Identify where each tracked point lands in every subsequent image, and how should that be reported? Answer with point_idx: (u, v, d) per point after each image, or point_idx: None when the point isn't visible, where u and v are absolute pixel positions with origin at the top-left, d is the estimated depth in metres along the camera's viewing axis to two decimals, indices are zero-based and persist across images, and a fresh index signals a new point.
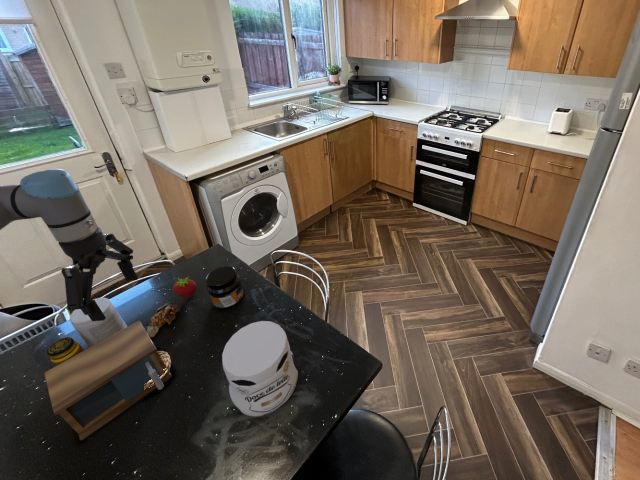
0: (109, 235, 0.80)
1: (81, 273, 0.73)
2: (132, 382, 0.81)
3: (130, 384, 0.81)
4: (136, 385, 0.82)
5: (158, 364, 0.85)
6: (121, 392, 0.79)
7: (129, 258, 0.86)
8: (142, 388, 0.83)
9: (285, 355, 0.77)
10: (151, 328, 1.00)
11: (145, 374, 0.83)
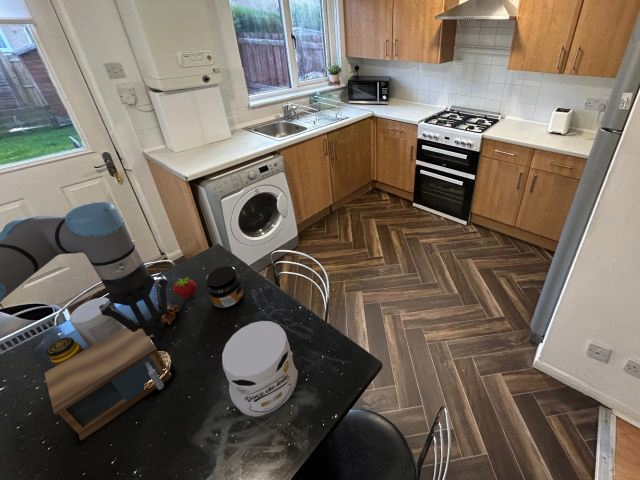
0: (164, 280, 0.74)
1: None
2: (132, 382, 0.81)
3: (130, 384, 0.81)
4: (136, 385, 0.82)
5: (158, 364, 0.85)
6: (121, 392, 0.79)
7: (156, 320, 0.75)
8: (142, 388, 0.83)
9: (285, 355, 0.77)
10: None
11: (145, 374, 0.83)
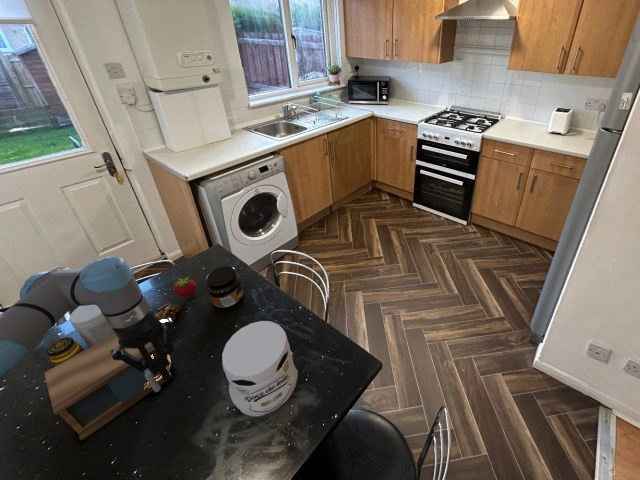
0: (170, 322, 0.78)
1: None
2: (128, 384, 0.80)
3: (126, 387, 0.80)
4: (132, 388, 0.81)
5: None
6: (117, 395, 0.79)
7: (163, 359, 0.79)
8: (138, 390, 0.83)
9: (285, 355, 0.77)
10: None
11: (141, 376, 0.82)
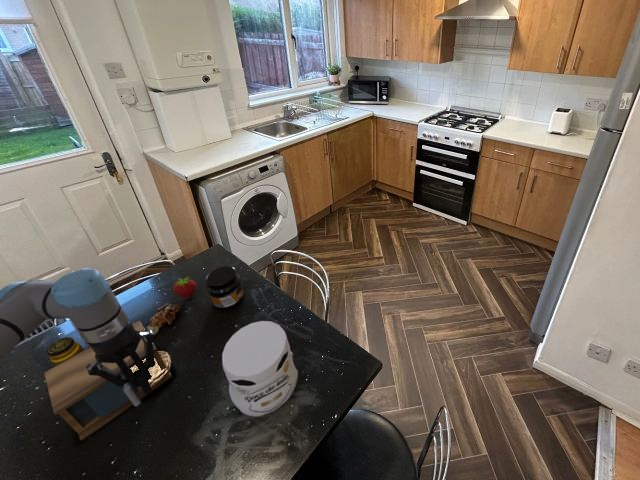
0: (150, 334, 0.75)
1: None
2: (107, 399, 0.77)
3: (105, 401, 0.77)
4: (111, 402, 0.78)
5: None
6: (95, 410, 0.76)
7: (143, 373, 0.77)
8: (118, 404, 0.80)
9: (285, 355, 0.77)
10: (151, 328, 1.00)
11: (121, 390, 0.79)
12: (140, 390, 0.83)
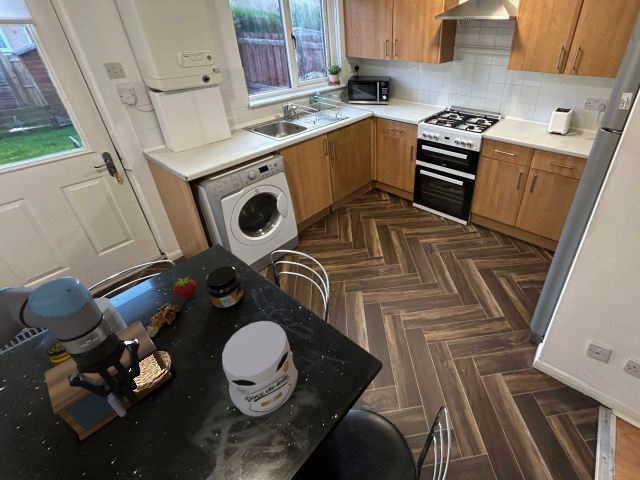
0: (135, 343, 0.73)
1: None
2: (91, 409, 0.75)
3: (89, 412, 0.75)
4: (95, 413, 0.76)
5: None
6: (78, 421, 0.74)
7: (128, 383, 0.74)
8: (103, 414, 0.78)
9: (285, 355, 0.77)
10: (151, 328, 1.00)
11: (106, 400, 0.77)
12: (126, 400, 0.81)
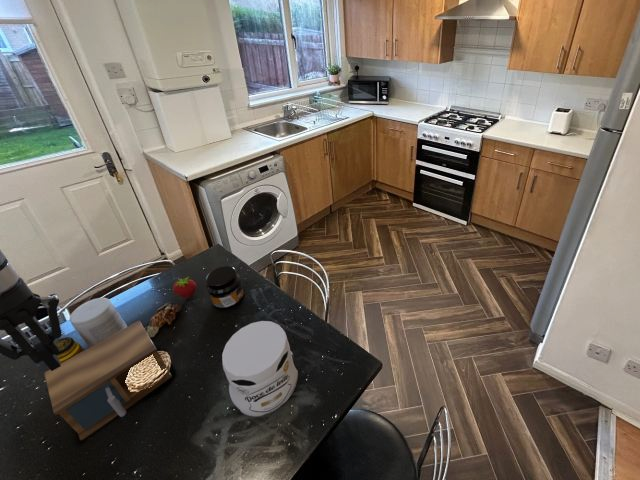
0: (53, 299, 0.64)
1: None
2: (91, 409, 0.75)
3: (89, 412, 0.75)
4: (95, 413, 0.76)
5: (121, 389, 0.79)
6: (78, 421, 0.74)
7: (46, 345, 0.65)
8: (103, 414, 0.78)
9: (285, 355, 0.77)
10: (151, 328, 1.00)
11: (106, 400, 0.77)
12: (126, 400, 0.81)
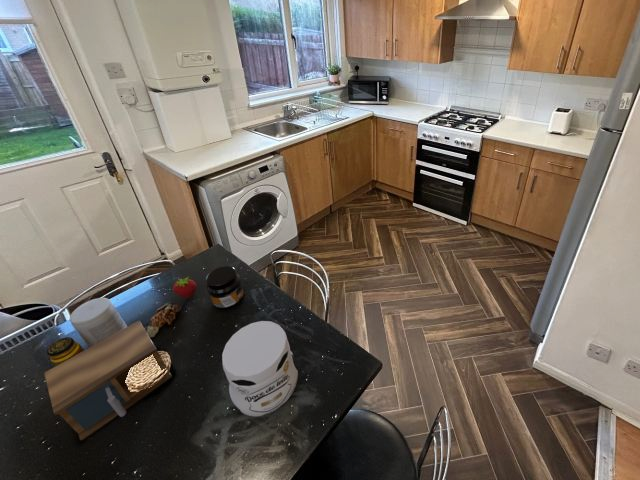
0: None
1: None
2: (91, 409, 0.75)
3: (89, 412, 0.75)
4: (95, 413, 0.76)
5: (121, 389, 0.79)
6: (78, 421, 0.74)
7: None
8: (103, 414, 0.78)
9: (285, 355, 0.77)
10: (151, 328, 1.00)
11: (106, 400, 0.77)
12: (126, 400, 0.81)
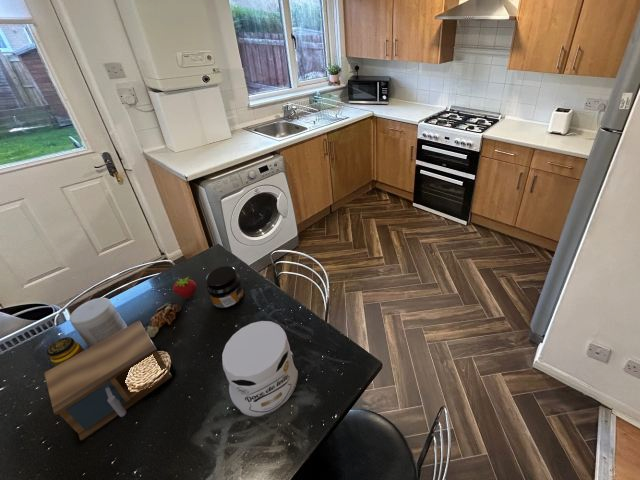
0: None
1: None
2: (91, 409, 0.75)
3: (89, 412, 0.75)
4: (95, 413, 0.76)
5: (121, 389, 0.79)
6: (78, 421, 0.74)
7: None
8: (103, 414, 0.78)
9: (285, 355, 0.77)
10: (151, 328, 1.00)
11: (106, 400, 0.77)
12: (126, 400, 0.81)
